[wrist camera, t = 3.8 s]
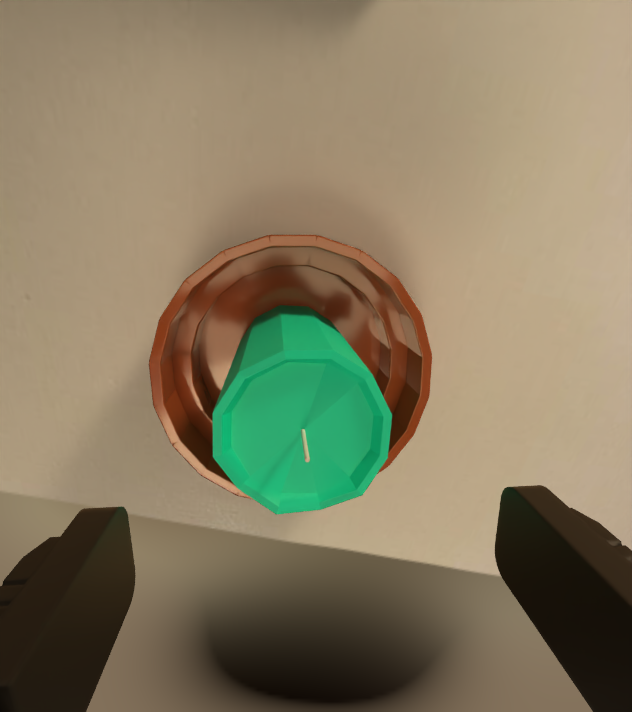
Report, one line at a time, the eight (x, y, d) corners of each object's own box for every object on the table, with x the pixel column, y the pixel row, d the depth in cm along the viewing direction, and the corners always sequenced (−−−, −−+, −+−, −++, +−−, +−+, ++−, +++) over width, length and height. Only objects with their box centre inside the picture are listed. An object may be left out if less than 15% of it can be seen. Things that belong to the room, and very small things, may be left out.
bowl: (185, 460, 25) (164, 511, 20) (165, 238, 22) (134, 234, 17) (395, 451, 26) (422, 496, 21) (406, 238, 23) (440, 234, 18)
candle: (226, 316, 23) (174, 386, 11) (333, 293, 23) (392, 338, 11) (252, 415, 24) (231, 568, 13) (352, 393, 24) (421, 523, 13)
